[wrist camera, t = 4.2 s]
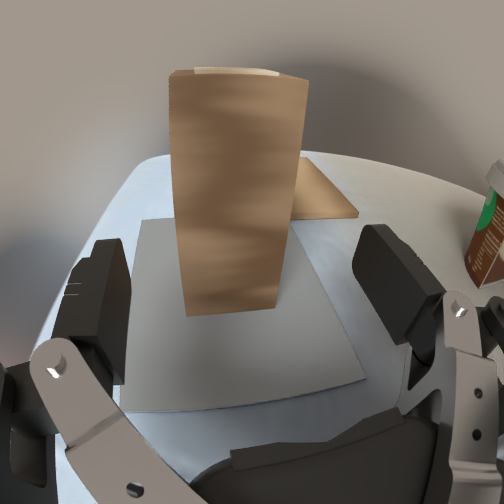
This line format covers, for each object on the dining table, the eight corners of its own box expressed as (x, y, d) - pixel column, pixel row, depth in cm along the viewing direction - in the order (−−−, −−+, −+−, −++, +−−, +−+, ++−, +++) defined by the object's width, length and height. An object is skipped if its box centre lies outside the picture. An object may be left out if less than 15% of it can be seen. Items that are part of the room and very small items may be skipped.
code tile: (283, 213, 26) (283, 212, 25) (365, 379, 13) (366, 377, 13) (142, 221, 23) (141, 219, 23) (120, 412, 11) (119, 411, 11)
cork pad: (306, 161, 37) (306, 157, 36) (357, 217, 26) (358, 212, 26) (213, 161, 35) (213, 157, 34) (226, 222, 24) (227, 216, 23)
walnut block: (257, 254, 21) (274, 69, 13) (275, 308, 17) (309, 76, 9) (183, 259, 20) (175, 67, 12) (186, 316, 16) (169, 72, 8)
